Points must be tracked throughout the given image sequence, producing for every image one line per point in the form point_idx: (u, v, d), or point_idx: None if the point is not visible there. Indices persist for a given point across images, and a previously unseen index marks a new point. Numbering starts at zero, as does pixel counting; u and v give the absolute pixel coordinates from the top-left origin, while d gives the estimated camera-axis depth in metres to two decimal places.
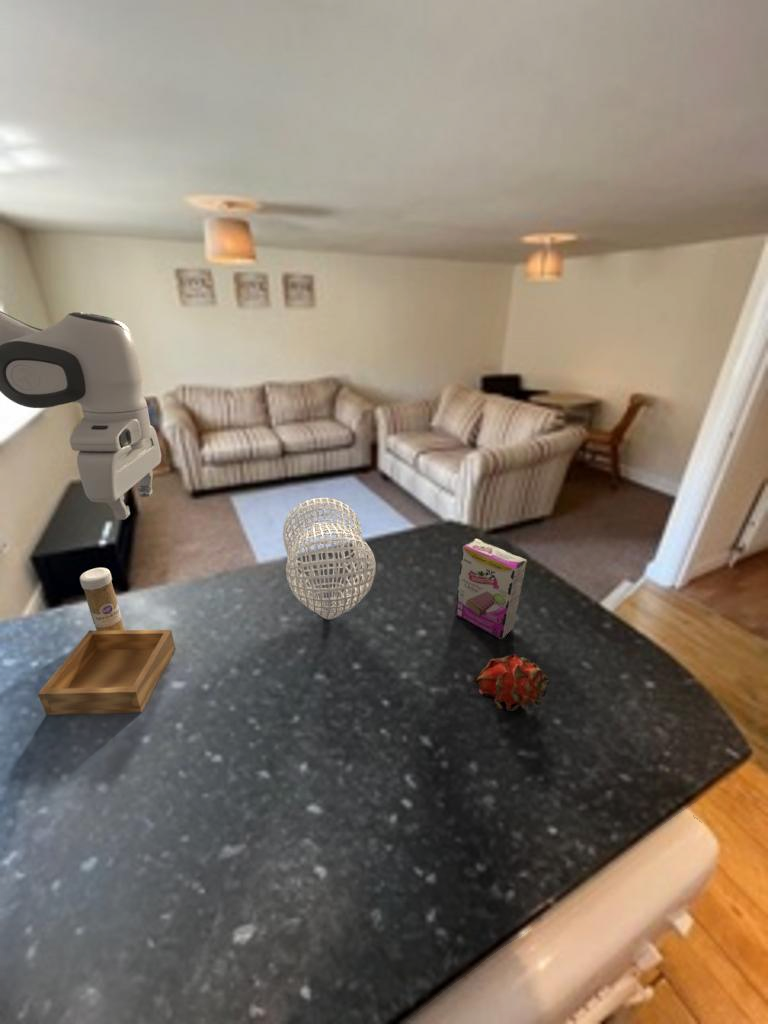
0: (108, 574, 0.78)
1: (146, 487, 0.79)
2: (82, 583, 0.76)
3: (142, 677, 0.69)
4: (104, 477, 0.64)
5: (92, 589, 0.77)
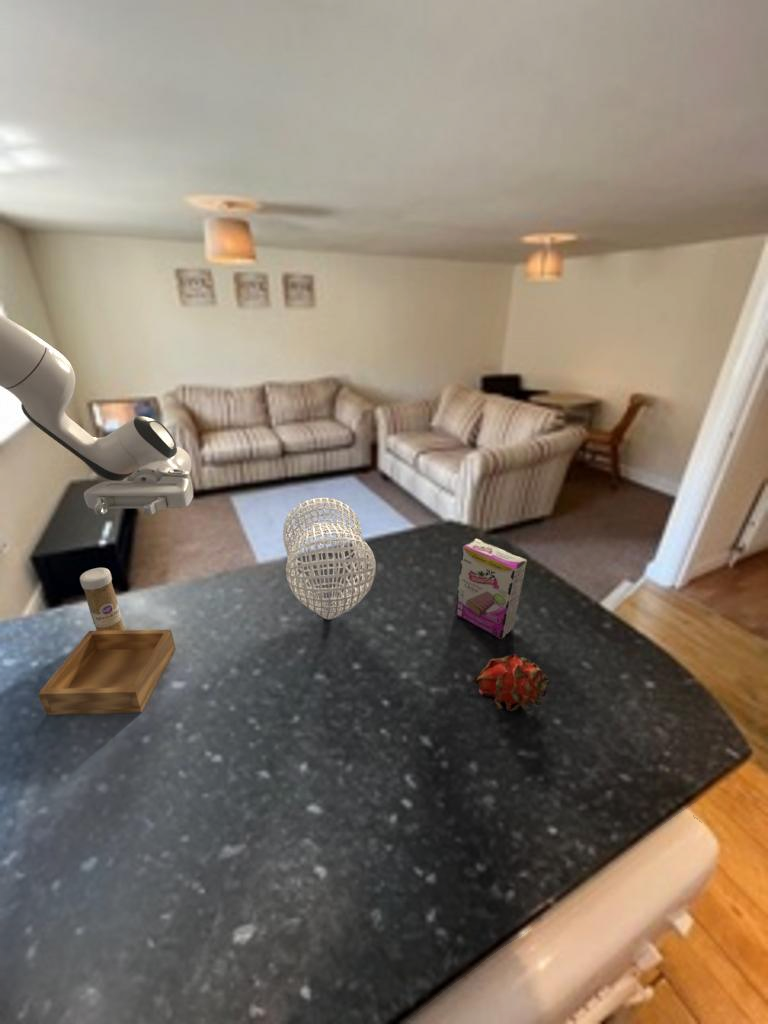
0: (108, 574, 0.78)
1: None
2: (82, 583, 0.76)
3: (142, 677, 0.69)
4: (190, 498, 0.96)
5: (92, 589, 0.77)
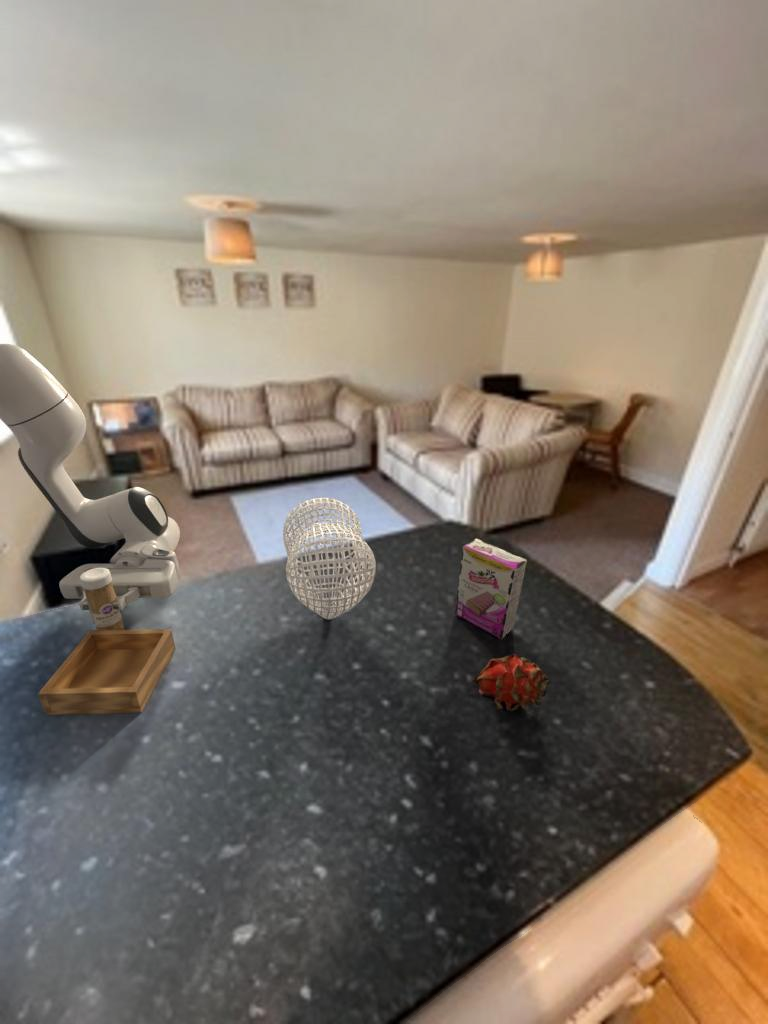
0: (108, 574, 0.78)
1: None
2: (81, 583, 0.76)
3: (142, 677, 0.69)
4: (176, 584, 0.89)
5: (92, 589, 0.77)
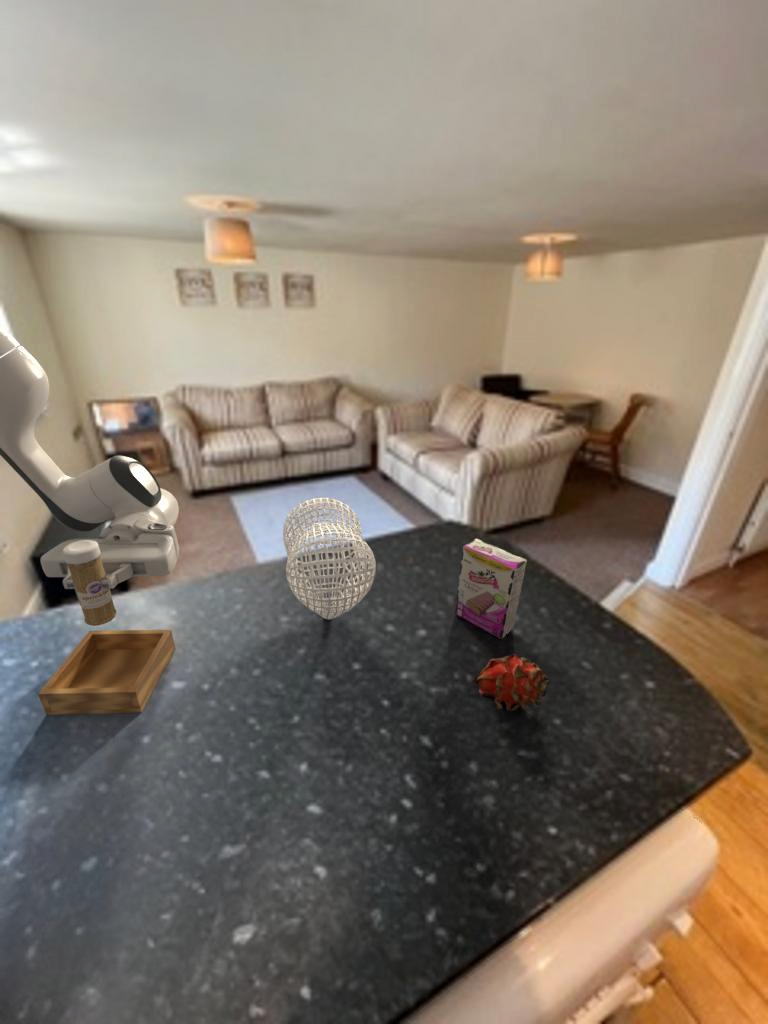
0: (96, 547, 0.67)
1: None
2: (65, 557, 0.66)
3: (142, 677, 0.69)
4: (174, 561, 0.78)
5: (77, 564, 0.66)
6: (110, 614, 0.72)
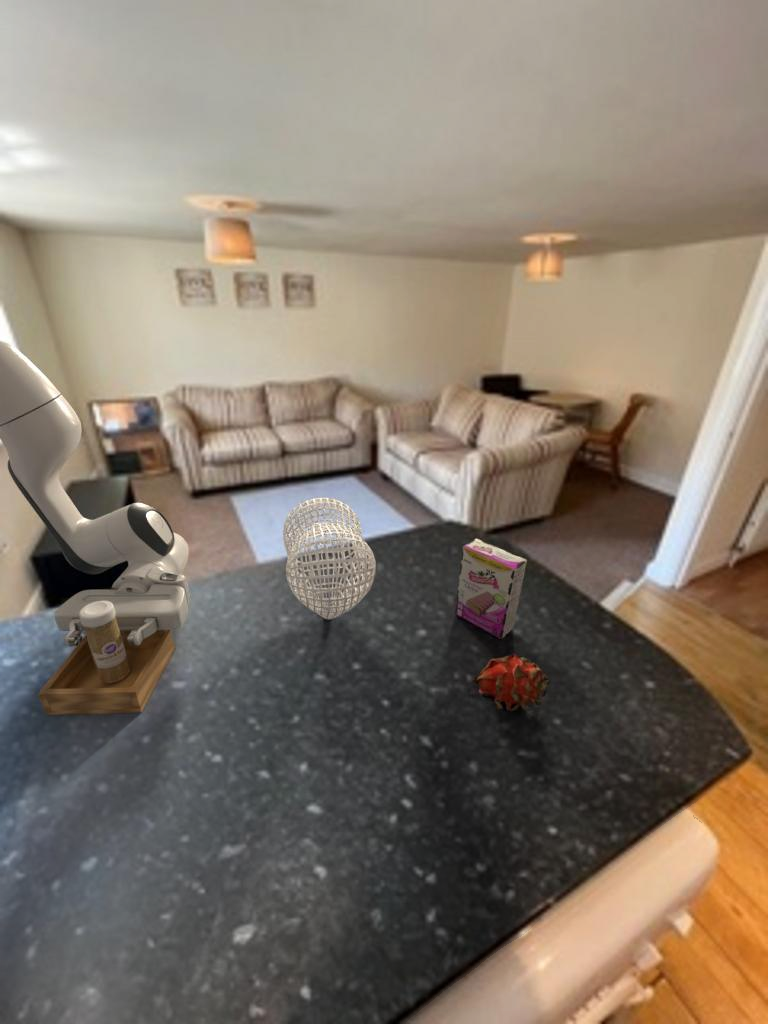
0: (111, 609, 0.68)
1: None
2: (81, 620, 0.67)
3: (142, 677, 0.69)
4: (186, 613, 0.79)
5: (93, 627, 0.67)
6: (124, 672, 0.73)
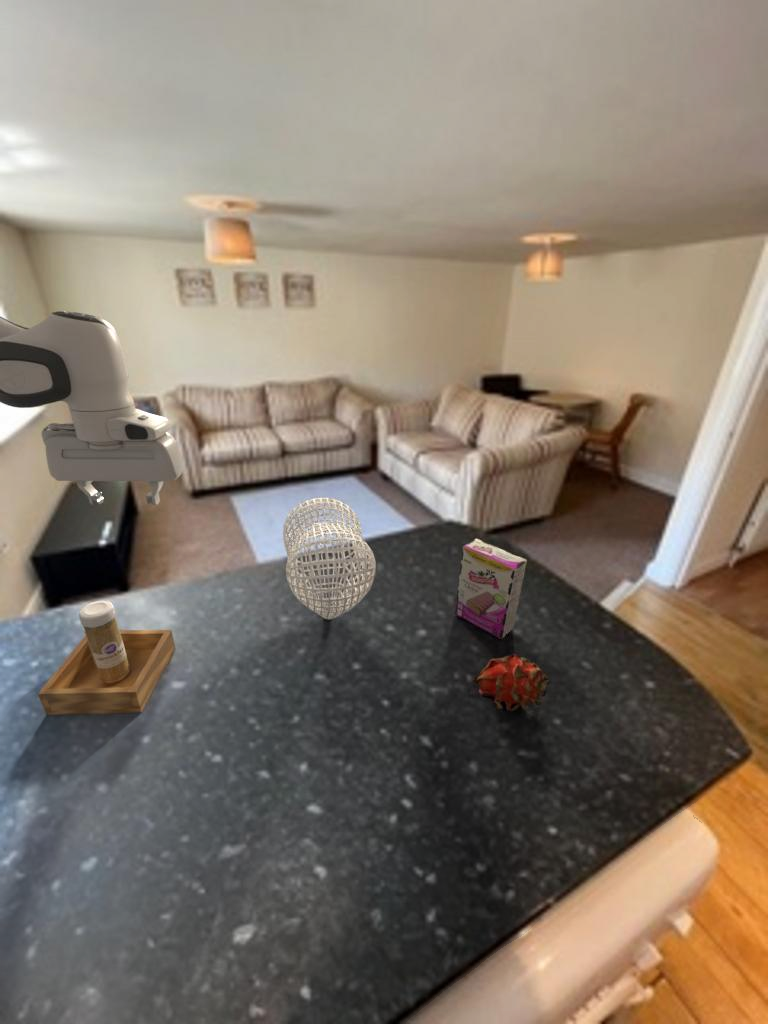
0: (111, 609, 0.68)
1: (99, 492, 0.76)
2: (81, 620, 0.67)
3: (142, 677, 0.69)
4: (178, 453, 0.75)
5: (93, 627, 0.67)
6: (124, 672, 0.73)
